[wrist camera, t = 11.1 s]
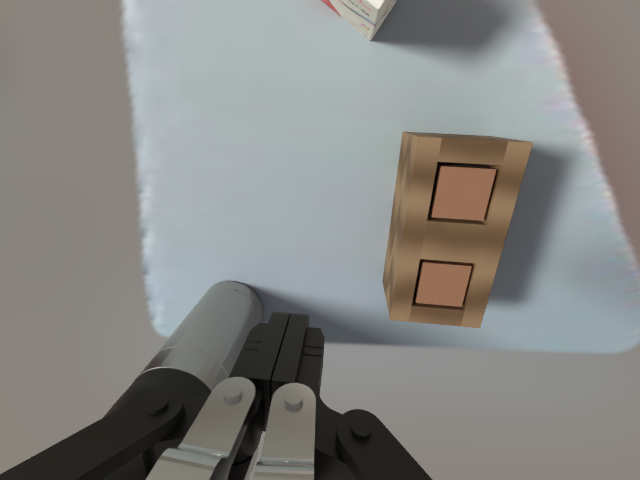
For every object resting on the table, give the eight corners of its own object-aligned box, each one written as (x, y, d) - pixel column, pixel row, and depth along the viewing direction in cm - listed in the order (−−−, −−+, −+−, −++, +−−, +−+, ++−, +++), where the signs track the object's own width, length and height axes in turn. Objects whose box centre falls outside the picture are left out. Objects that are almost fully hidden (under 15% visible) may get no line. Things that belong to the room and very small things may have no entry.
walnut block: (455, 287, 44) (479, 328, 35) (382, 281, 44) (390, 319, 36) (490, 136, 36) (532, 142, 28) (402, 131, 37) (418, 136, 28)
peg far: (440, 270, 43) (461, 306, 35) (403, 267, 43) (415, 302, 35) (447, 236, 41) (471, 266, 33) (408, 233, 41) (423, 262, 33)
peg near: (455, 198, 39) (483, 220, 31) (414, 196, 39) (431, 217, 31) (464, 157, 37) (496, 169, 29) (421, 155, 37) (440, 166, 29)
